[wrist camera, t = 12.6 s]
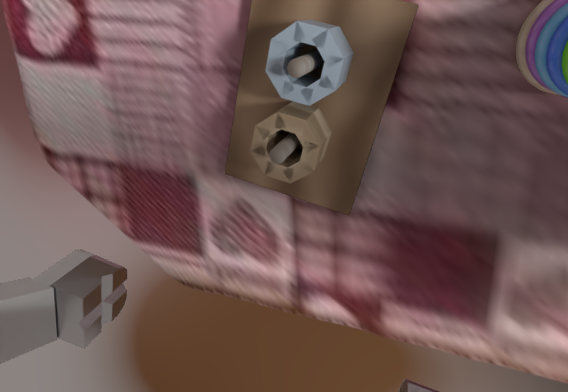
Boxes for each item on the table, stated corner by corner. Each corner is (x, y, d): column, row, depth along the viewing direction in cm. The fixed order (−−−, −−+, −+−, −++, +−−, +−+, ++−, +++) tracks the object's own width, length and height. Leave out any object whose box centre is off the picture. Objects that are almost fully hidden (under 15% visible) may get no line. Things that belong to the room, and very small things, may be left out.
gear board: (418, 5, 34) (417, 3, 27) (351, 209, 43) (336, 250, 36) (262, -32, 36) (222, -43, 29) (230, 169, 46) (193, 199, 38)
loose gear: (359, 31, 35) (350, 34, 30) (340, 100, 37) (329, 112, 33) (293, 14, 36) (275, 15, 31) (279, 83, 39) (261, 92, 34)
